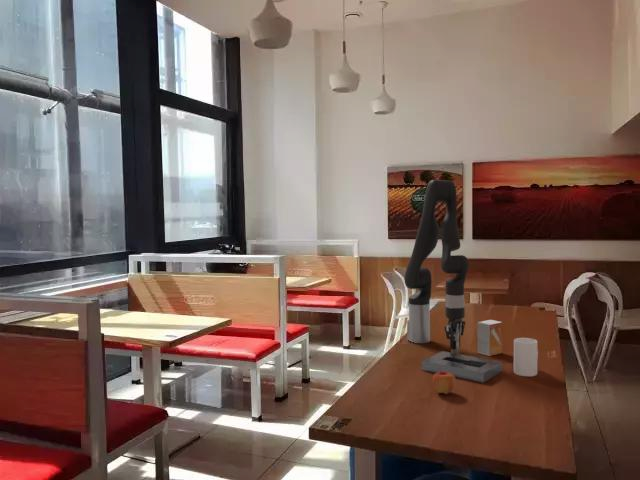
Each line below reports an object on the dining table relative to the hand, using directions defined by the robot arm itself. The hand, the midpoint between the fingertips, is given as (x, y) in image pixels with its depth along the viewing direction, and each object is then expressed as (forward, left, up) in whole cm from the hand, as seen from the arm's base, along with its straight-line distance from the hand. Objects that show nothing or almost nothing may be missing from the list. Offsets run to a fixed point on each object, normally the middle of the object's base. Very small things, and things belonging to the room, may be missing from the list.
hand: (455, 348), depth 213 cm
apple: (+15, -38, -4) cm, 41 cm away
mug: (+28, 0, -4) cm, 28 cm away
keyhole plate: (+9, -13, -4) cm, 16 cm away
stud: (0, 0, -4) cm, 4 cm away
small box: (+8, +15, -4) cm, 18 cm away
